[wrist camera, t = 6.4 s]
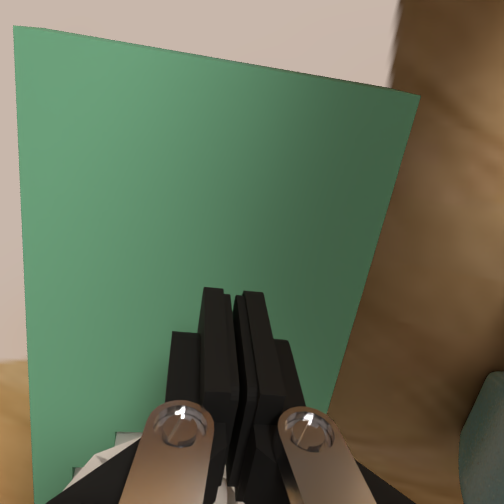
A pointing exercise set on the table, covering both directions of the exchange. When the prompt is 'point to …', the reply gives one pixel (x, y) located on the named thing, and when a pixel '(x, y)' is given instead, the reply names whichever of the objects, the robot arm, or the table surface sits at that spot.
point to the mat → (183, 223)
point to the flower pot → (484, 446)
